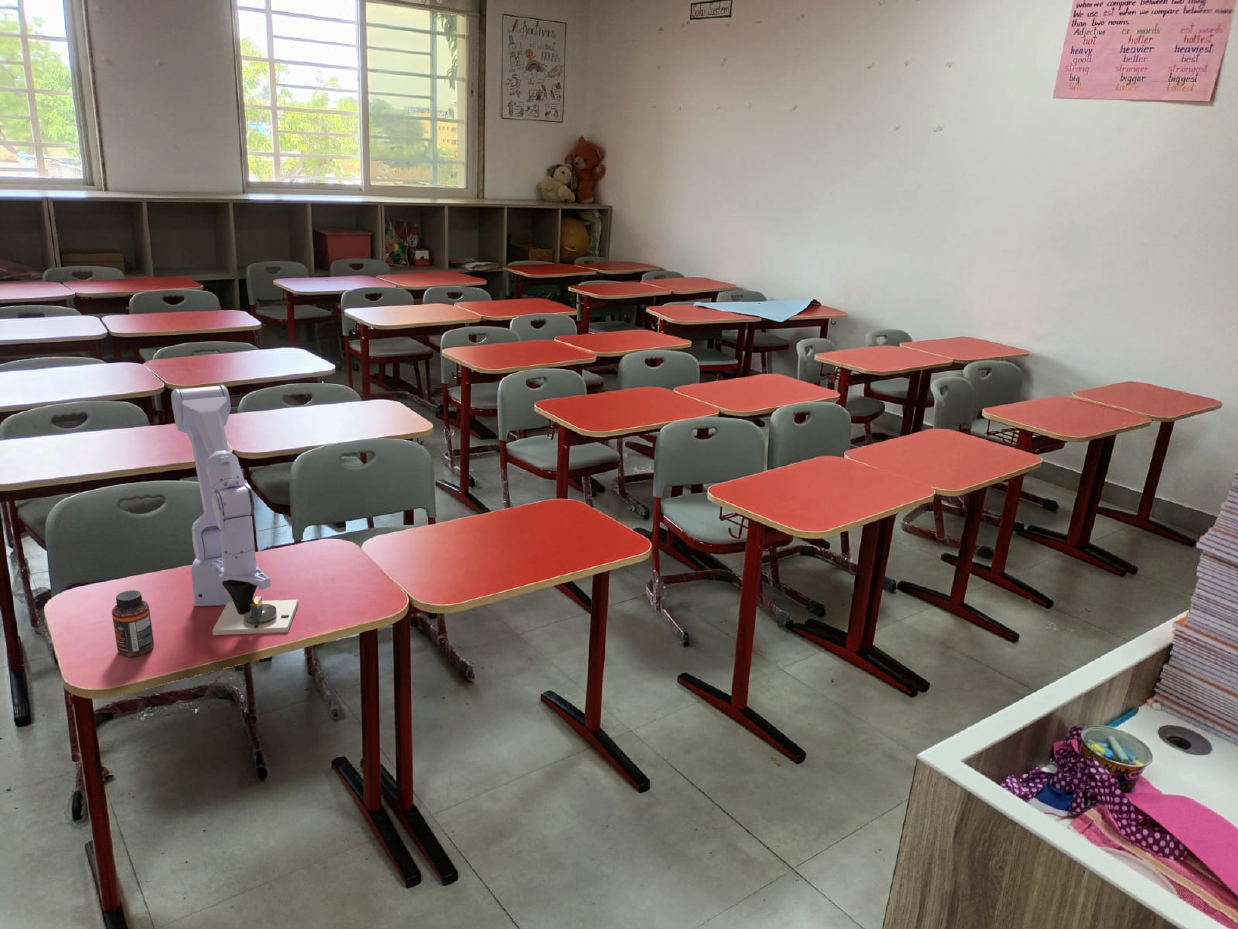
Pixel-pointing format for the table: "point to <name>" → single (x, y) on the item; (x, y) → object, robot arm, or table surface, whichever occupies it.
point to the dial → (260, 612)
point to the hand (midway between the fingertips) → (244, 612)
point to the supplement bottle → (132, 624)
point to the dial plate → (236, 625)
